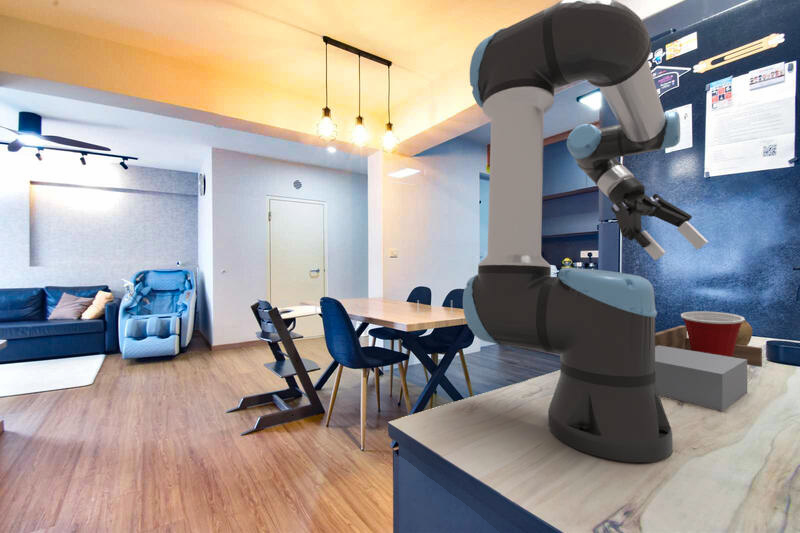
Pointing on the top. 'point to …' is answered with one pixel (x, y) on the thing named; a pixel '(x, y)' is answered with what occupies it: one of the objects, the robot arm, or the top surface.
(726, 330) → the plastic cup
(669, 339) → the brown wooden frame
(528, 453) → the top surface
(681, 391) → the grey square block
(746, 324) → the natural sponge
